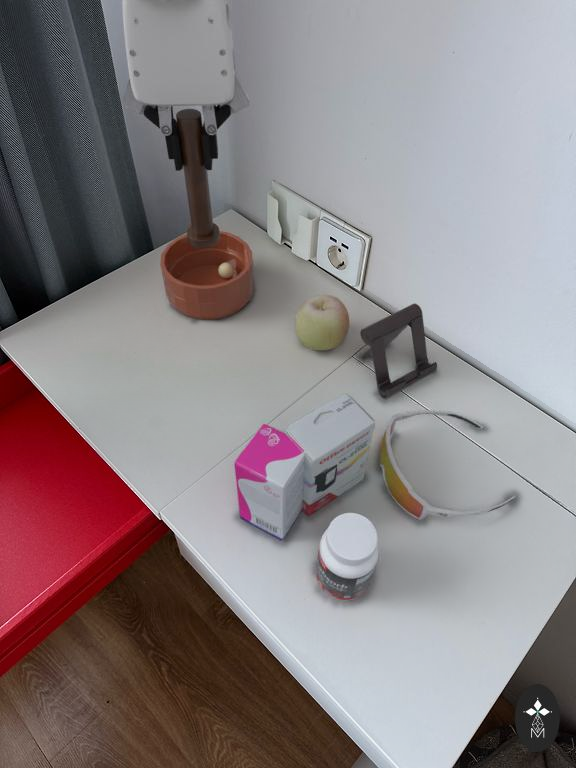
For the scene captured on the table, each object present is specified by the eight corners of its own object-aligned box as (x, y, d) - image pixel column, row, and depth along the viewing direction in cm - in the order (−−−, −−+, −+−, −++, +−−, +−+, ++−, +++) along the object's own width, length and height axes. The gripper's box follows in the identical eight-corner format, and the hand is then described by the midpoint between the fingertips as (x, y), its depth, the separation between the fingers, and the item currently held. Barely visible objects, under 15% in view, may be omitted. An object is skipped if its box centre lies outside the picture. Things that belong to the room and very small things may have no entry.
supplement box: (308, 500, 66) (313, 445, 57) (282, 542, 62) (283, 491, 53) (265, 477, 67) (263, 420, 58) (237, 517, 64) (231, 464, 55)
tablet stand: (384, 402, 75) (394, 360, 68) (348, 364, 79) (354, 321, 72) (435, 374, 78) (448, 331, 71) (397, 339, 82) (407, 295, 76)
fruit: (336, 366, 79) (341, 325, 72) (287, 350, 80) (287, 308, 74) (354, 330, 83) (360, 288, 77) (307, 315, 85) (310, 273, 79)
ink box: (307, 518, 64) (311, 463, 55) (281, 487, 67) (281, 429, 58) (365, 479, 68) (378, 421, 58) (338, 450, 70) (347, 390, 61)
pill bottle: (304, 574, 60) (308, 533, 53) (340, 538, 63) (349, 495, 55) (345, 614, 58) (355, 578, 50) (381, 575, 60) (396, 535, 53)
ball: (218, 281, 88) (217, 269, 86) (219, 271, 90) (217, 259, 88) (234, 281, 88) (233, 269, 86) (234, 271, 90) (233, 259, 88)
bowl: (164, 323, 84) (156, 289, 78) (170, 265, 92) (164, 231, 87) (254, 320, 84) (253, 286, 79) (253, 262, 92) (251, 228, 87)
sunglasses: (361, 429, 72) (371, 405, 68) (470, 424, 75) (485, 400, 71) (392, 534, 63) (407, 513, 59) (514, 523, 66) (534, 502, 63)
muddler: (186, 248, 70) (167, 123, 58) (189, 229, 73) (170, 105, 61) (219, 248, 71) (206, 123, 58) (220, 228, 73) (208, 105, 61)
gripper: (262, -47, 52) (266, 146, 67) (83, -46, 52) (126, 147, 66) (263, -19, 48) (267, 181, 62) (66, -19, 47) (116, 183, 61)
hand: (194, 162), depth 64 cm, fingers closed on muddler, 2 cm apart
